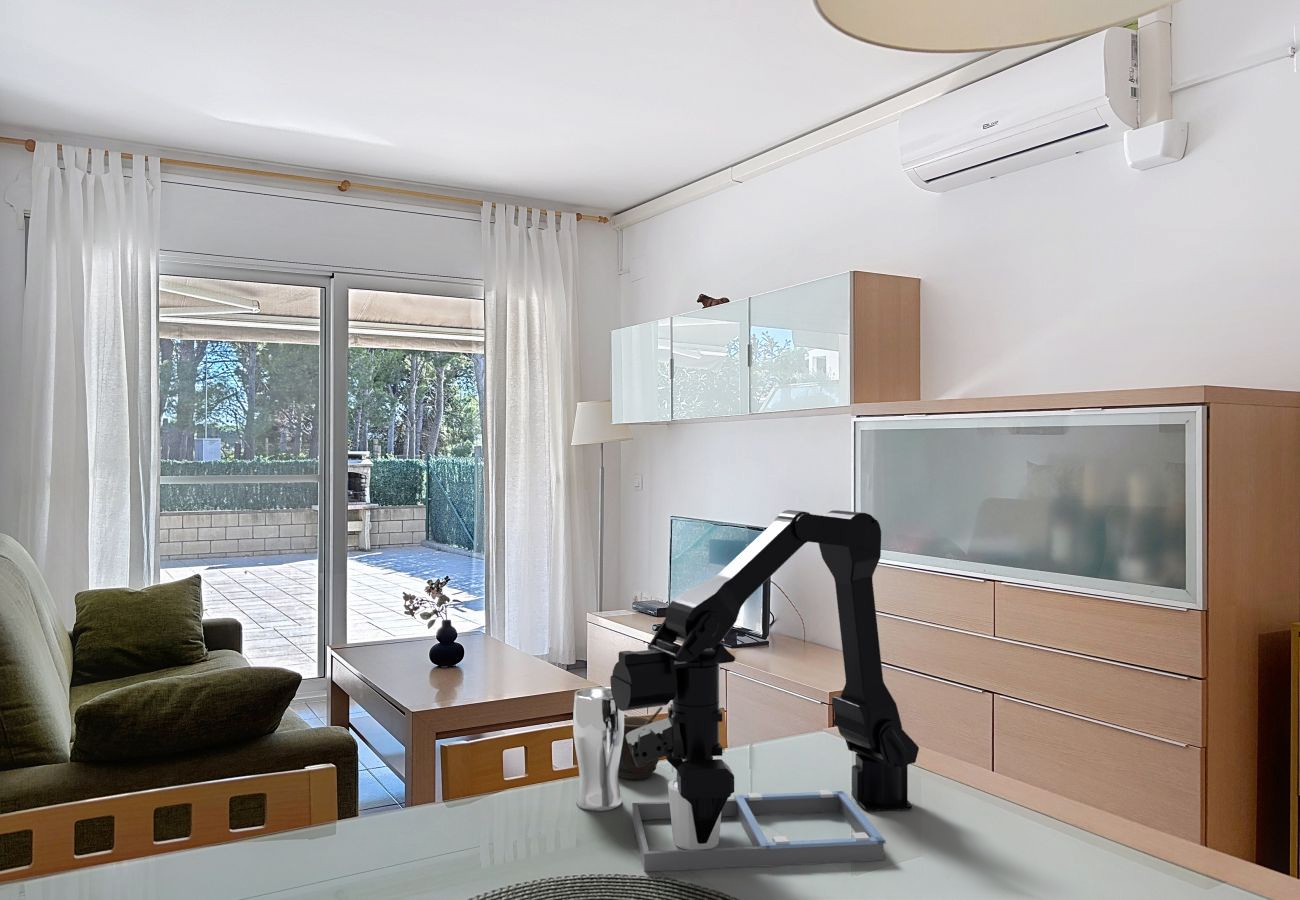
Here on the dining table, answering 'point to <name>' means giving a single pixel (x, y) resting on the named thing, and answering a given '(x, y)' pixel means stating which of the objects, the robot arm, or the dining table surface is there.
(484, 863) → the dining table surface
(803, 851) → the two-slot open tray
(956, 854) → the dining table surface
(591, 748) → the beer glass
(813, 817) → the dining table surface
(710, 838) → the light grey cup
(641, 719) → the mate gourd
